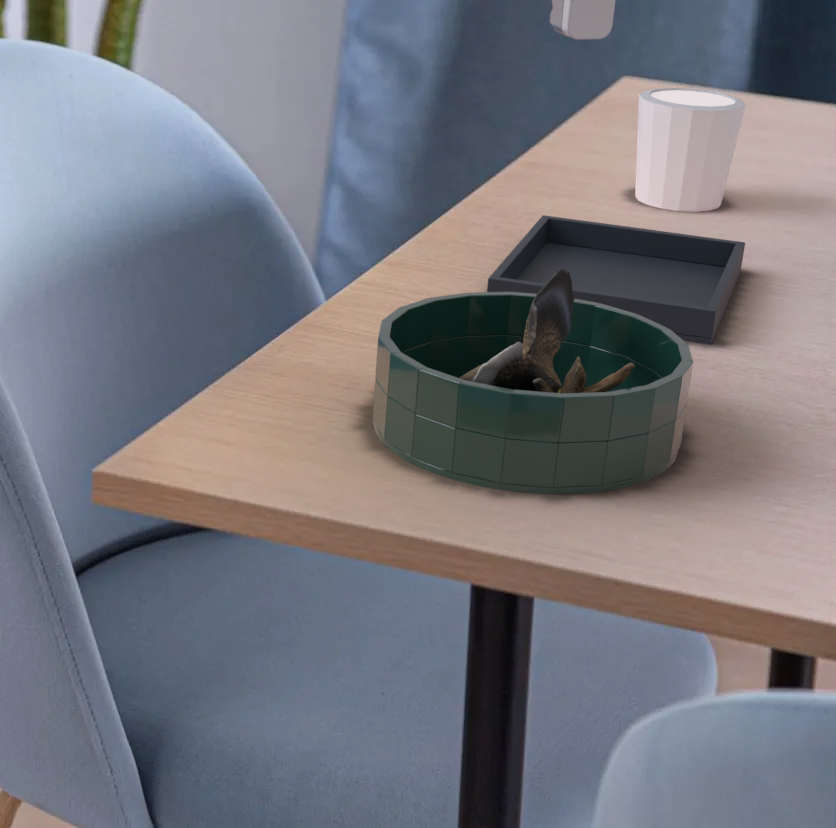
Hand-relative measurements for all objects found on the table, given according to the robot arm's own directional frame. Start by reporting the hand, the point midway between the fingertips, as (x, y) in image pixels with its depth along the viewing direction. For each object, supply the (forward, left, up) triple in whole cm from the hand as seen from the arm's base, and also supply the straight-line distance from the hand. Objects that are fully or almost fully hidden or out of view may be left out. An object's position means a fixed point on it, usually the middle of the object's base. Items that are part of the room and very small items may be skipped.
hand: (521, 13), depth 67 cm
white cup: (-22, -44, -19) cm, 53 cm away
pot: (-3, -4, -19) cm, 20 cm away
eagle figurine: (-3, -4, -19) cm, 19 cm away
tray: (-13, -24, -19) cm, 33 cm away
